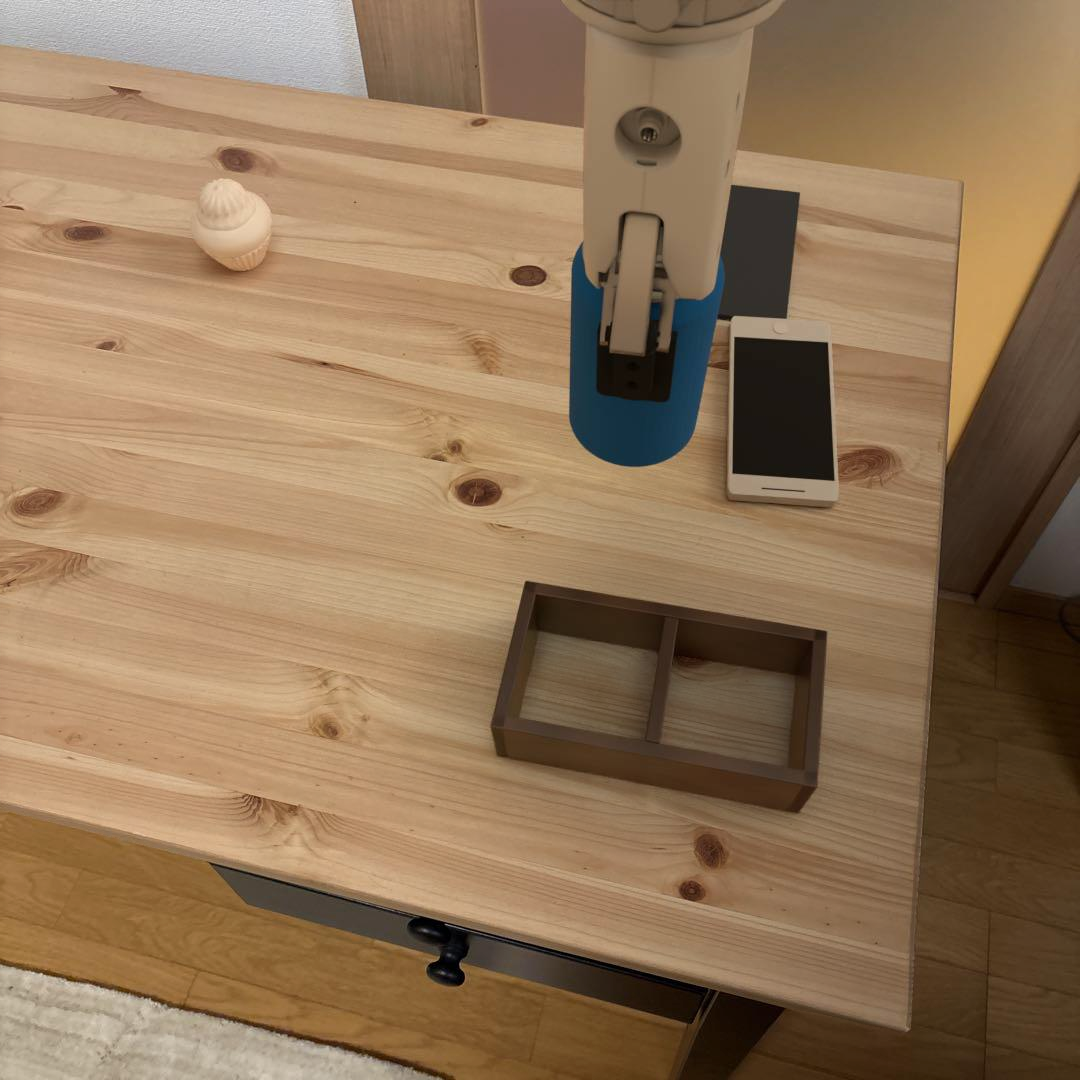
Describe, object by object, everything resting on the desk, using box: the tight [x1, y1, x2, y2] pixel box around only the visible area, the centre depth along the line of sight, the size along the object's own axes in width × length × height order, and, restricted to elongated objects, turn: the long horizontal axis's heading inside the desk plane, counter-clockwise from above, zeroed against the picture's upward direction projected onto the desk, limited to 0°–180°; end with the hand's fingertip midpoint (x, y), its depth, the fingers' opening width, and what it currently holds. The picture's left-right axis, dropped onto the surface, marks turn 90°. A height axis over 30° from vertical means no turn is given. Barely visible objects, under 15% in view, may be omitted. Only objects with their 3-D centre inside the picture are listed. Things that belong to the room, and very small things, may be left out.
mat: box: [717, 184, 801, 321], centre depth 77 cm, size 14×14×1 cm
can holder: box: [490, 580, 829, 814], centre depth 57 cm, size 17×9×5 cm, turn 78°
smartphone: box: [726, 316, 840, 508], centre depth 69 cm, size 7×15×1 cm, turn 174°
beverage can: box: [568, 239, 725, 468], centre depth 46 cm, size 6×6×12 cm
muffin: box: [189, 177, 273, 272], centre depth 76 cm, size 6×6×7 cm
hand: (644, 329), depth 45 cm, fingers closed on beverage can, 6 cm apart
